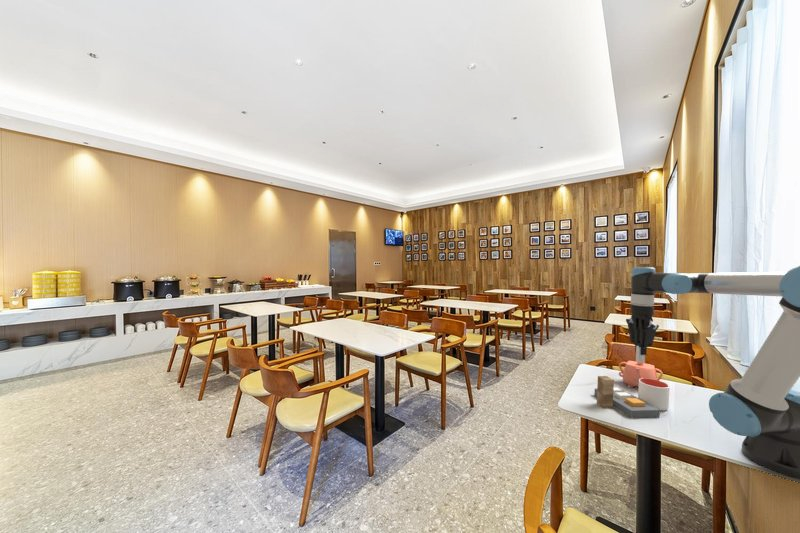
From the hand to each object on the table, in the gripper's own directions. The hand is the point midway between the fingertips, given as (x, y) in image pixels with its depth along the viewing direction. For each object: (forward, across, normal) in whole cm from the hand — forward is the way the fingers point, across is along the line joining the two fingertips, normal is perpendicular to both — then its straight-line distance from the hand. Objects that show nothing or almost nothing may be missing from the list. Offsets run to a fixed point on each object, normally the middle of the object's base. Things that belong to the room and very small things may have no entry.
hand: (640, 361), depth 125 cm
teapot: (+20, +22, -22) cm, 37 cm away
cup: (+20, +3, -10) cm, 23 cm away
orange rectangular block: (+19, -1, +2) cm, 19 cm away
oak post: (+20, +5, +11) cm, 23 cm away
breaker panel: (+20, +4, +2) cm, 21 cm away
